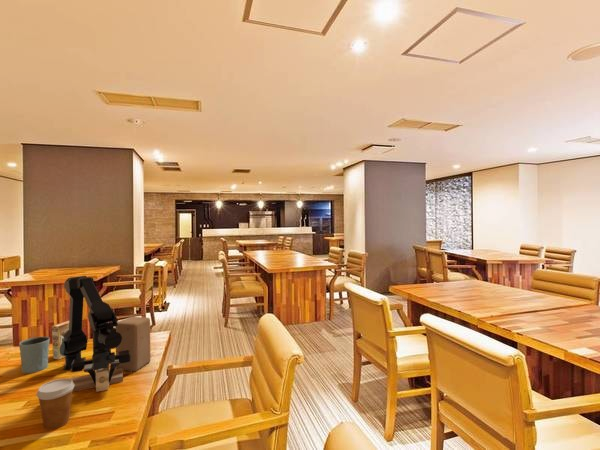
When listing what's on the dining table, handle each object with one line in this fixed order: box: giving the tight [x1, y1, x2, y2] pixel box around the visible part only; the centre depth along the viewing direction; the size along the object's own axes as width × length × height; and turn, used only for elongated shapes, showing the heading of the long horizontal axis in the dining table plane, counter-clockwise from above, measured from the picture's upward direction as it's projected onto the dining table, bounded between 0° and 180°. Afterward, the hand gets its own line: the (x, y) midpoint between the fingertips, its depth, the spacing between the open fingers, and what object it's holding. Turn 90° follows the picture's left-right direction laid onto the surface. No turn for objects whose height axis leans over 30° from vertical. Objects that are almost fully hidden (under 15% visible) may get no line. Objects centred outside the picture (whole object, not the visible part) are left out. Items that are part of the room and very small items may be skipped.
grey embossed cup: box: [18, 336, 51, 374], centre depth 140 cm, size 10×10×12 cm
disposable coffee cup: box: [35, 377, 75, 430], centre depth 103 cm, size 10×10×12 cm
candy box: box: [51, 319, 69, 360], centre depth 153 cm, size 9×4×15 cm, turn 164°
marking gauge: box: [95, 366, 110, 393], centre depth 126 cm, size 13×4×7 cm, turn 28°
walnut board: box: [67, 368, 124, 393], centre depth 127 cm, size 8×23×2 cm, turn 118°
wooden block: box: [114, 316, 152, 372], centre depth 142 cm, size 10×10×20 cm
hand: (102, 383), depth 124 cm, fingers closed on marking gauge, 4 cm apart
